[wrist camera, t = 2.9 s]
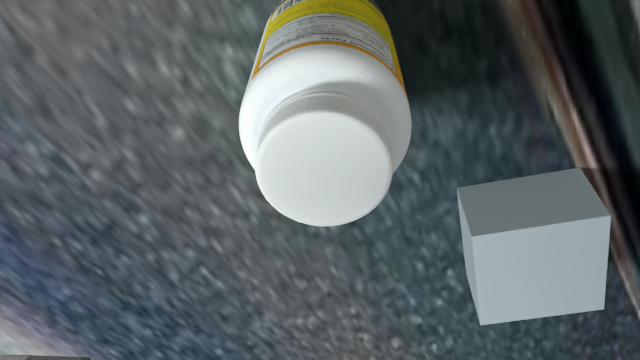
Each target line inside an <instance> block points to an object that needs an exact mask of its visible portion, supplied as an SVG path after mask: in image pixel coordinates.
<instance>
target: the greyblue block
mask: <svg viewBox="0 0 640 360" xmlns="http://www.w3.org/2000/svg"><path fill="white" fill-rule="evenodd" d="M457 195H458V204H459V213H460V221H461V230H462V239H463V248H464V257H465V266H466V274H467V277H468V281H469V285H470V289H471V292H472V296H473V300H474V303H475V307H476V311H477V314H478V318H479V322H480V325H486V324H494V323H502V322H510V321H517V320H525V319H533V318H540V317H548V316H556V315H563V314H571V313H579V312H586V311H594V310H602V309H604V301H605V288H606V275H607V263H608V250H609V237H610V225H611V214H610V213H609V211H608V210H607V208H606V207H605V205H604V204H603V202H602V201H601V199H600V197H599V196H598V194H597V193H596V191H595V190H594V188H593V187H592V185H591V184H590V182H589V181H588V179H587V178H586V176H585V175H584V173H583V171H582V170H581V168H575V169H569V170H563V171H557V172H550V173H544V174H538V175H532V176H526V177H520V178H514V179H508V180H502V181H496V182H490V183H484V184H478V185H472V186H466V187H460V188H457Z"/></svg>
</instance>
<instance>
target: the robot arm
mask: <svg viewBox="0 0 640 360" xmlns="http://www.w3.org/2000/svg"><path fill="white" fill-rule="evenodd" d="M0 360H91V359H90V357H62V356H33V355H1V356H0Z"/></svg>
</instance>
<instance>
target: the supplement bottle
mask: <svg viewBox="0 0 640 360" xmlns="http://www.w3.org/2000/svg"><path fill="white" fill-rule="evenodd" d="M239 133H240V139H241V143H242V147H243V149H244V152H245V155H246V157H247V159H248V161H249V162H250V164H251V165H252V167H253V168H254V169H255V173H256V178H257V182H258V185H259V187H260V190H261V192H262V193H263V195H264V196H265V198H266V200H267V201H268V202H269V203H270V204H271V205H272V206H273V207H274V208H275V209H276V210H278V211H279V212H280V213H282V214H283V215H285V216H287V217H289V218H291V219H293V220H295V221H297V222H301V223H304V224H308V225H315V226H335V225H341V224H346V223H349V222H352V221H355V220H357V219H359V218H361V217H363V216H364V215H366V214H368V213H369V212H370V211H372V210H373V209H374V208H375V207H376V206H377V205H378V204H379V203H380V202H381V201H382V199H383V198H384V196H385V195H386V193H387V191H388V189H389V186H390V183H391V180H392V174H393V173H394V172H395V170H396V169H397V168H398V166H399V165H400V163H401V162H402V160H403V158H404V156H405V154H406V152H407V149H408V146H409V142H410V137H411V114H410V107H409V103H408V99H407V95H406V90H405V87H404V81H403V75H402V73H401V70H400V66H399V62H398V58H397V54H396V50H395V46H394V42H393V37H392V34H391V30H390V27H389V24H388V22H387V20H386V18H385V16H384V15H383V13H382V12H381V10H380V9H379V7H378V6H377V5H376V4H375V3H374V2H373V1H372V0H282V1H281V3H280V4H279V5H278V6H277V7H276V8H275V10H274V11H273V12H272V14H271V16H270V18H269V20H268V22H267V24H266V27H265V30H264V33H263V36H262V40H261V43H260V46H259V49H258V52H257V56H256V59H255V62H254V65H253V69H252V72H251V75H250V78H249V82H248V85H247V88H246V91H245V95H244V98H243V101H242V104H241V108H240V114H239Z"/></svg>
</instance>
